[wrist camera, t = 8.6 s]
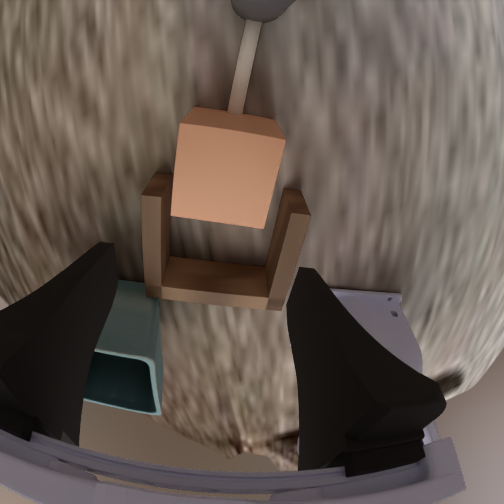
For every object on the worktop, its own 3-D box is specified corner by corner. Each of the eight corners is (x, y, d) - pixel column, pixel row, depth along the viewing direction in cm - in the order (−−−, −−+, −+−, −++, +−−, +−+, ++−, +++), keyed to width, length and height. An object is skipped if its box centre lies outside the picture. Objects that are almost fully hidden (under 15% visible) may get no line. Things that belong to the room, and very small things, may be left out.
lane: (300, 190, 21) (311, 215, 18) (276, 279, 25) (281, 310, 23) (155, 172, 20) (141, 195, 17) (155, 266, 24) (145, 296, 21)
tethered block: (306, -13, 13) (334, -39, 8) (258, 190, 21) (265, 239, 16) (221, -29, 12) (214, -62, 7) (184, 179, 20) (167, 225, 15)
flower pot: (75, 253, 23) (30, 334, 16) (174, 266, 24) (153, 360, 17) (92, 322, 28) (65, 396, 21) (174, 335, 29) (162, 416, 22)
